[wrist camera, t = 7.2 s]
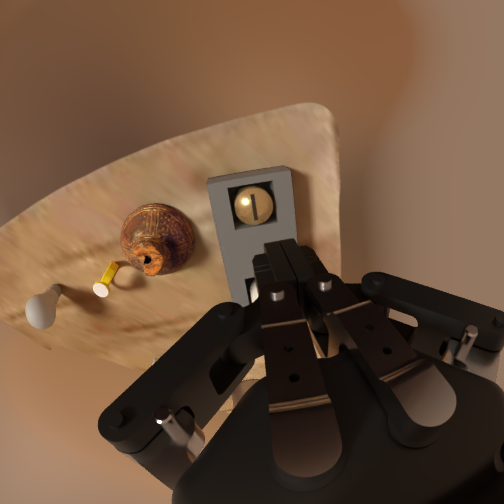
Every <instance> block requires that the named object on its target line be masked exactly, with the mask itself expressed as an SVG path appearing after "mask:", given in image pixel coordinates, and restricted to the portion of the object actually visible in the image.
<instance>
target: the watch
mask: <svg viewBox="0 0 504 504" xmlns="http://www.w3.org/2000/svg"><path fill="white" fill-rule="evenodd" d="M118 267H119V265H117V264H116V263H114V262H111V264H110V265H109V267H108V269H107V270H106V272H105V274H104V276H103V277H102V279H101V281H97V282H96V283H95V284H94V286H93V290H94V292H95V293H96V295H98V296H100V297H106V296H107V295H108V294H109V292H110V288H109V284H110V282H111V280H112V279H113V276H114V275H115V273H116V271H117V269H118Z"/></svg>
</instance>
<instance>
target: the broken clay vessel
mask: <svg viewBox="0 0 504 504" xmlns="http://www.w3.org/2000/svg"><path fill="white" fill-rule="evenodd" d="M133 213H134V214H135V215H134V214H133ZM133 213H131V214H130V215H129V216H128V217H127V219H126V220H125V222H124V224H123V227H122V231H121V237H120V243H121V247H122V250H123V252H124V254H125V256H126V258H127V259H128V261H129V262H130V264H131V265H132V266H133V267H135V268H136V269H137V270H139V271H141V272H144V274H145V275H146V276H155V275H165V274H170V273H173V272H175V271H176V270H178V269H180V268H181V267H182V266H183V265H185V263H186V262H187V261H188V260H189V258H190V256H191V254H192V252H193V248H194V235H193V232H192V229H191V227H190V225H189V224H188V222H187V221H186V220H185V219H184V217H183V216H182V215H181V214H180V213H179V212H177V211H176V210H175V209H173V208H171V207H170V206H167V205H164V204H157V203H154V204H147V205H144V206H141V207H139V208H138V209H137V210H135V211H134V212H133ZM191 241H192V242H191ZM128 244H129V245H128ZM126 246H127V247H126ZM147 246H148V247H147ZM167 247H168V248H167ZM145 255H146V256H148V258H150V257H151V259H152V260H151V263H149V264H146V263H145V264H144V260H145Z"/></svg>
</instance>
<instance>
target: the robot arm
mask: <svg viewBox="0 0 504 504" xmlns="http://www.w3.org/2000/svg"><path fill="white" fill-rule="evenodd" d="M263 245H264V253H263V254H257V255H255V256H254V258H253V260H252V264H253V270H254V276H255V282H256V287H257V292H258V298H257V299H256V300H255V301H254V302H253V303H251V304H249V305H247V306H245V307H242V306H241V305H240V304H238V303H235V302H224V303H220V304H218V305H216V306H214V307H213V308H211V309H210V310H209V311H208V312H207V313H206V314H205V315H204V316H203V317H202V318H201V319H200V320H199V321H198V322H197V323H196V324H195V325H194V326H193V327H192V328H191V329H190V330H188V331H187V332H186V333H185V334H184V335H183V336H182V337H181V338H180V339H179V340H178V341H177V342H176V343H175V344H174V345H173V346H172V347H171V348H170V349H169V350H168V351H167V352H166V353H164V354H163V355H162V356H161V357H160V358H159V359H158V360H157V361H156V362H155V363H154V364H153V365H152V366H151V367H150V368H149V369H148V370H147V371H146V372H144V373H143V374H142V375H141V376H140V377H139V378H138V379H137V380H136V381H135V382H134V383H133V384H132V385H131V386H130V387H129V388H128V389H126V390H125V392H123V393H122V394H121V395H120V396H119V397H118V398H117V399H116V400H115V401H114V402H113V403H112V404H111V405H110V406H108V407H107V408H106V409H105V410H104V411H103V412H102V414H101V415H100V417H99V420H98V429H99V432H100V434H101V435H102V436H103V437H104V438H105V439H106V440H107V441H108V442H110V443H111V444H112V445H114V446H115V448H116V449H117V450H118V451H120V452H121V453H122V454H124V455H125V456H126V457H128V458H129V459H131V460H132V461H133V462H135V463H137V464H139V465H141V466H142V467H144V468H145V469H146V470H148V472H150V473H151V474H152V475H153V476H154V477H156V478H157V479H158V480H160V481H161V482H162V483H163V484H165V485H166V486H167V487H169V488H170V489H171V490H173V494H172V504H504V392H503V390H502V389H501V388H500V387H499V386H498V385H497V384H496V383H495V381H496V375H497V370H498V364H499V357H500V352H501V351H502V349H503V347H504V312H503V311H500V310H497V309H494V308H491V307H489V306H485V305H482V304H480V303H477V302H474V301H471V300H468V299H465V298H462V297H458V296H455V295H452V294H449V293H446V292H443V291H440V290H437V289H434V288H431V287H428V286H424V285H421V284H418V283H415V282H412V281H409V280H406V279H402V278H399V277H396V276H393V275H389V274H386V273H383V272H370V273H367V274H366V275H364V276H363V278H362V282H361V284H360V283H359V284H357V283H356V284H355V283H354V284H349V283H348V284H347V283H344V282H343V281H342V280H341V279H340V277H338V276H337V275H335V274H332V273H328V271H327V270H326V268H325V267H324V265H323V264H322V262H321V261H320V259H319V258H318V256H317V255H316V253H315V252H314V250H313V249H311V248H309V247H308V246H306V245H305V246H300V247H299V246H298V244H297V242H296V241H295V239H294V238H290V239H284V240H279V241H274V242H268V243H264V244H263ZM390 308H391V309H394V310H397V311H399V312H402V313H405V314H408V315H411V316H413V317H414V318H416V320H417V322H418V327H413V326H410V325H407V324H404V323H402V322H399V321H396V320H394V319H391V318H388V316H389V311H390ZM307 322H308V323H307ZM308 324H309V327H308ZM313 343H314V344H313ZM314 345H315V347H316V349H317V351H318V353H319V355H320V357H321V358H317V355H316V351H315V348H314ZM263 355H264V359H265V369H266V377H264V378H262V379H260V380H247V381H243V382H241V381H242V380H243V378H244V377H245V376H246V374H247V373H248V372H249V370H250V369H251V368H252V366H253V365H254V362H255V359H256V358H258V357H260V356H263ZM231 394H232V397H233V410H232V412H231V413H230V415H229V416H228V418H227V419H226V420H225V421H224V423H223V424H222V425H221V427H220V428H219V430H218V431H217V432H216V433H215V435H214V436H213V438H212V439H211V440H210V441H209V443H208V444H207V445H206V447H205V448H204V449H203V450H202V448H203V446H204V444H205V435H204V433H203V431H202V429H203V428H204V427H205V426H206V424H207V423H208V422H209V421H210V420H211V418H212V417H213V416H214V415H215V414H216V412H217V411H218V410H219V409H220V407H221V406H222V405H223V404H224V403H225V401H226V400H227V399H228V398H229V396H230V395H231ZM201 450H202V452H201V453H200V451H201ZM199 453H200V454H199Z"/></svg>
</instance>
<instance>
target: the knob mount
mask: <svg viewBox="0 0 504 504" xmlns="http://www.w3.org/2000/svg"><path fill="white" fill-rule="evenodd" d="M253 183H258V184H260V185H262V186H263V187H264V188H265V190H266V191H267V193H268V194H269V196H270V197H271V199H272V202H273V210H272V213H271V215H270V217H269V218H268V219H267V220H266V221H265V222H263V223H261V224H258V225H249V224H246V223H244V222H242V221H241V220H240V219H239V218H238V216H237V215H236V212H235V207H234V200H233V198H234V193H235V191H236V190H237V188H238V187H239V186H242V185H247V184H253ZM207 188H208V193H209V198H210V203H211V208H212V212H213V217H214V222H215V226H216V231H217V236H218V240H219V245H220V249H221V254H222V258H223V263H224V267H225V271H226V276H227V280H228V284H229V288H230V293H231V297H232V301H233V302H235V303H238V304H240V305H241V306H242V307H245V306H247V305H249V304H251V303H252V299H251V294H250V286H251V284H252V282H253V281H254V280H255V276H254V270H253V264H252V260H253V258H254V256H255V255H257V254H263V253H264V245H263V244H264V243H268V242H274V241H279V240H284V239H290V238H294V239H295V241H296V242H297V231H296V219H295V208H294V198H293V189H292V179H291V170H289V169H288V168H286V167H285V166H278V167H271V168H264V169H258V170H251V171H245V172H240V173H234V174H228V175H223V176H218V177H212V178H208V181H207ZM297 244H298V243H297Z"/></svg>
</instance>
